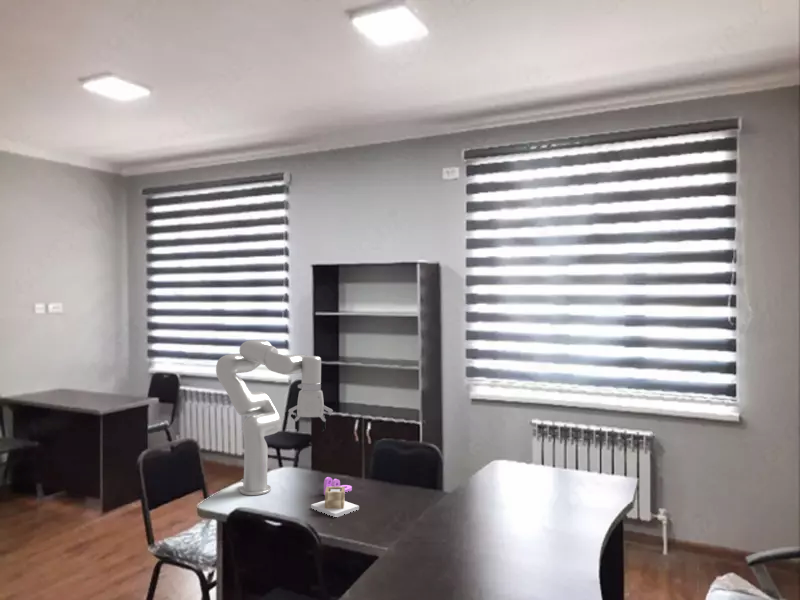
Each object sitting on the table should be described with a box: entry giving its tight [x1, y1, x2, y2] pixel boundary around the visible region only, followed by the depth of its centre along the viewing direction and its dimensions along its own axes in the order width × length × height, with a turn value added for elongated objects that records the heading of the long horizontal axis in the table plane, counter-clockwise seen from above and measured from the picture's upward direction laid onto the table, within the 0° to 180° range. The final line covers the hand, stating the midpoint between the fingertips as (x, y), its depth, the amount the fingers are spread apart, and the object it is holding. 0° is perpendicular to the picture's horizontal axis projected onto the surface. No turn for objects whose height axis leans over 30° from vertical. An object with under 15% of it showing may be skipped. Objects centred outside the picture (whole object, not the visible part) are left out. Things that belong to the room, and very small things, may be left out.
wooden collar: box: [324, 487, 346, 508], centre depth 216 cm, size 7×7×6 cm
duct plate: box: [310, 489, 360, 518], centre depth 216 cm, size 14×12×7 cm
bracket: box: [323, 476, 353, 496], centre depth 236 cm, size 13×6×7 cm, turn 145°
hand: (310, 431), depth 222 cm, fingers open, 9 cm apart
